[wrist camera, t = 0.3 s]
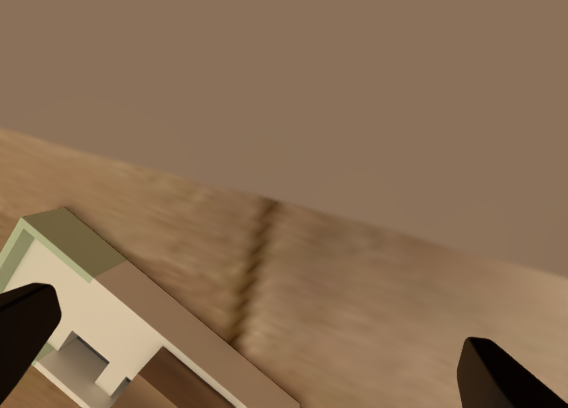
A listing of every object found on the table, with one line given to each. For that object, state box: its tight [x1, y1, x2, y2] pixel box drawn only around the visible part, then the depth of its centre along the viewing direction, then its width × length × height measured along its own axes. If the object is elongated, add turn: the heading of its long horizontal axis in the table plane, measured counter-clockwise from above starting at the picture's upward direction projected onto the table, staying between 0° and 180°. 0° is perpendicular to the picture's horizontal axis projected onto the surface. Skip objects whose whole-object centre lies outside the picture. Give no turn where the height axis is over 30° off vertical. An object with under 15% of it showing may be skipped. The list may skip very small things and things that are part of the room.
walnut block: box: [110, 346, 236, 408], centre depth 22 cm, size 4×6×4 cm
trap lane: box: [0, 207, 300, 408], centre depth 25 cm, size 8×22×4 cm, turn 52°
